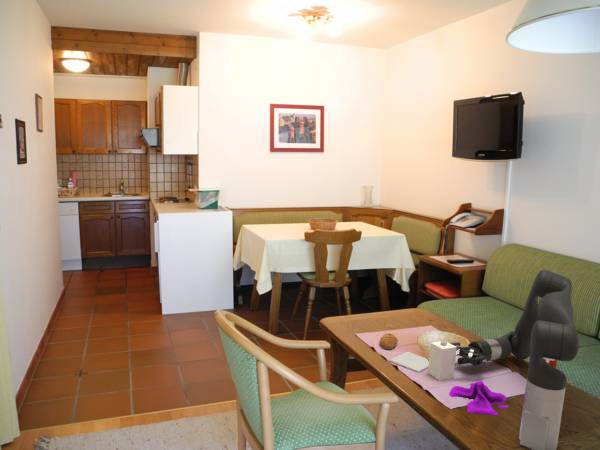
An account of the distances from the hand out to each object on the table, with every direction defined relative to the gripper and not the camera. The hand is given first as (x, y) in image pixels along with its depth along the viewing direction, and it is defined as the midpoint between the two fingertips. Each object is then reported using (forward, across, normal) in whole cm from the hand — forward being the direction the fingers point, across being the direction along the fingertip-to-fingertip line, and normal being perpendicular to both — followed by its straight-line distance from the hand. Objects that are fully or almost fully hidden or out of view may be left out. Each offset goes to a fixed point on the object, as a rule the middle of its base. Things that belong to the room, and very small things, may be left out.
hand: (449, 356), depth 176 cm
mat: (+5, -12, +6) cm, 15 cm away
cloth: (+1, +17, +7) cm, 19 cm away
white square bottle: (+3, 0, +6) cm, 7 cm away
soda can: (-22, +20, +7) cm, 31 cm away
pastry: (+4, -28, +7) cm, 29 cm away
